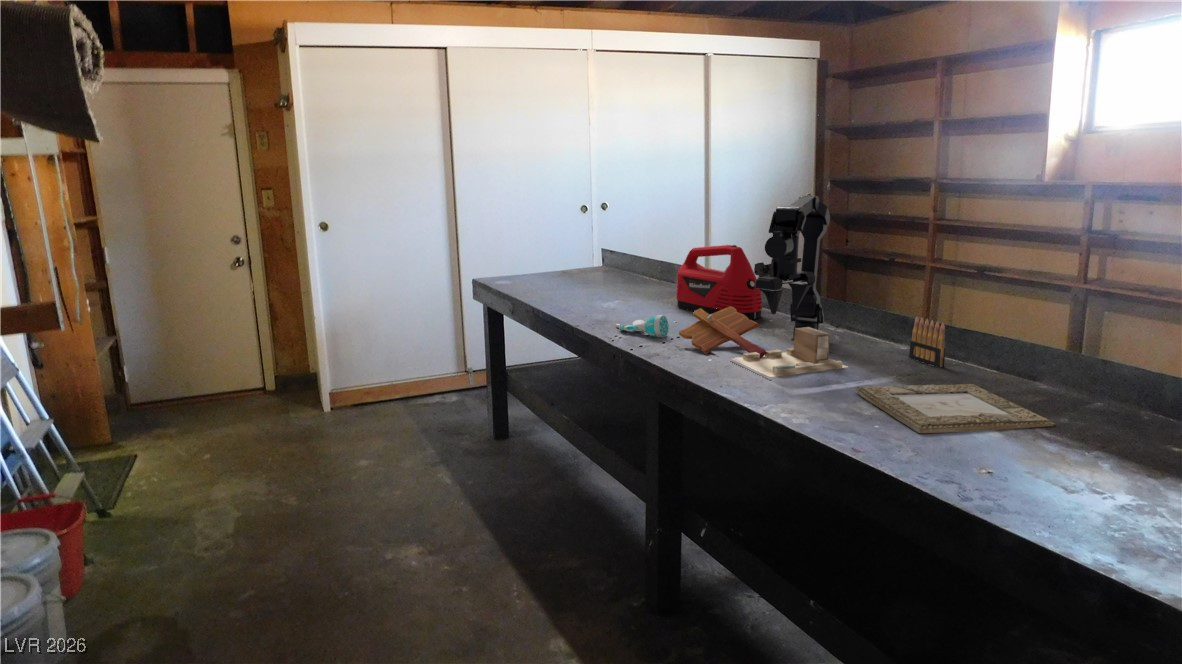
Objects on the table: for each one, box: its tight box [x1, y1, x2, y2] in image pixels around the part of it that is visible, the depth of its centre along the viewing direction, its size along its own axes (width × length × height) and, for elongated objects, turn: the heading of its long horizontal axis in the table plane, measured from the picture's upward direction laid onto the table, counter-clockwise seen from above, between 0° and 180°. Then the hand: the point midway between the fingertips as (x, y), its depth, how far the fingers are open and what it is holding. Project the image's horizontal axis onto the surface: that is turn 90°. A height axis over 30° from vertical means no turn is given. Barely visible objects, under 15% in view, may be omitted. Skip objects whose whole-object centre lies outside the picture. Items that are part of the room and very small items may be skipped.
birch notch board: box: [729, 347, 849, 382], centre depth 194 cm, size 24×19×3 cm
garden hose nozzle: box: [615, 314, 670, 339], centre depth 236 cm, size 7×18×20 cm
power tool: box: [676, 244, 763, 321], centre depth 265 cm, size 16×40×25 cm, turn 32°
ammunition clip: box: [908, 316, 946, 368], centre depth 195 cm, size 11×2×12 cm, turn 21°
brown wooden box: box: [793, 327, 831, 364], centre depth 196 cm, size 4×9×8 cm, turn 20°
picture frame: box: [855, 383, 1056, 434], centre depth 160 cm, size 27×30×3 cm
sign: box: [678, 307, 767, 358], centre depth 211 cm, size 20×6×30 cm
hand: (784, 311), depth 198 cm, fingers open, 9 cm apart
